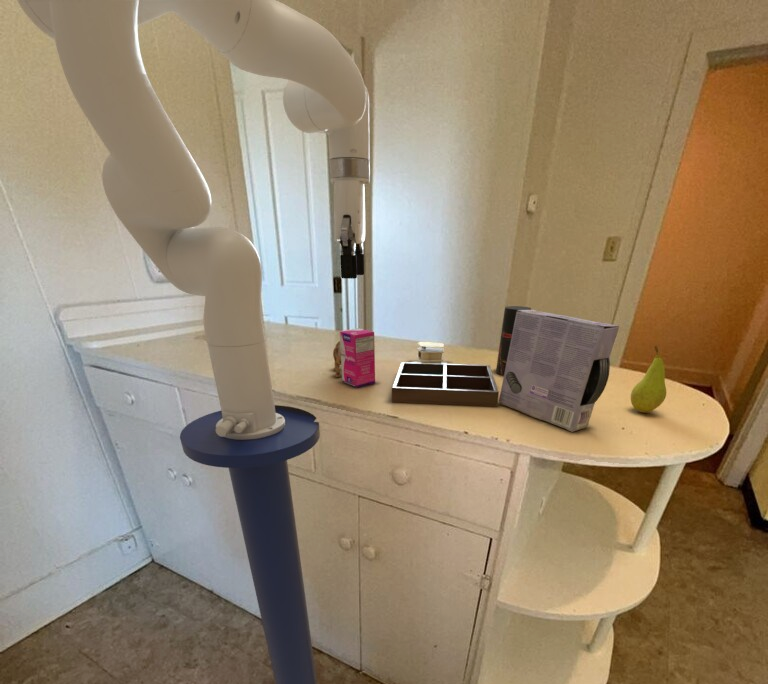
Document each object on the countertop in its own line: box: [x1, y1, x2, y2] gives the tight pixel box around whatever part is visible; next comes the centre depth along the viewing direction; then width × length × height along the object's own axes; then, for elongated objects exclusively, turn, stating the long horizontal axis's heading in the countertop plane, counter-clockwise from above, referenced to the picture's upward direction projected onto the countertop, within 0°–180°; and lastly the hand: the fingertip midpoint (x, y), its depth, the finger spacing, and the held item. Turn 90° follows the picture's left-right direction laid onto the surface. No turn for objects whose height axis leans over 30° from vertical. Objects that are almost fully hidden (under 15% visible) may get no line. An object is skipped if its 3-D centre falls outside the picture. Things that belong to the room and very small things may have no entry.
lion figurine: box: [332, 340, 341, 378], centre depth 105 cm, size 15×5×9 cm, turn 16°
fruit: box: [630, 345, 667, 414], centre depth 80 cm, size 6×6×12 cm
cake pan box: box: [498, 309, 620, 433], centre depth 77 cm, size 19×5×18 cm, turn 33°
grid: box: [391, 361, 500, 408], centre depth 95 cm, size 21×21×3 cm
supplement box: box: [339, 327, 376, 389], centre depth 97 cm, size 6×6×12 cm
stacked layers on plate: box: [410, 341, 449, 364], centre depth 112 cm, size 10×9×6 cm
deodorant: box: [495, 305, 532, 376], centre depth 104 cm, size 6×6×15 cm
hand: (353, 276), depth 90 cm, fingers open, 9 cm apart
